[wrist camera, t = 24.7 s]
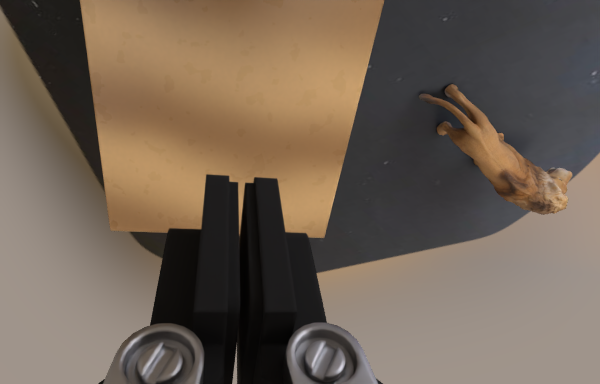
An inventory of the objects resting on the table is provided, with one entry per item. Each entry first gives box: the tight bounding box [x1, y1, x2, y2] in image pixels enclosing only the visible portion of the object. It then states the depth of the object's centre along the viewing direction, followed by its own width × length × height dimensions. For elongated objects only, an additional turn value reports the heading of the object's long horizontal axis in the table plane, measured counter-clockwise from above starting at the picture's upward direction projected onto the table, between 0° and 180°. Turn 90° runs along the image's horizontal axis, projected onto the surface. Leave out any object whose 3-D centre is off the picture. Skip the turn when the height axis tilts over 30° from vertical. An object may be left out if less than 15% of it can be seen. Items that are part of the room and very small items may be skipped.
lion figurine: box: [419, 84, 572, 215], centre depth 38 cm, size 15×5×9 cm, turn 57°
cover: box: [80, 0, 384, 238], centre depth 25 cm, size 16×14×1 cm
